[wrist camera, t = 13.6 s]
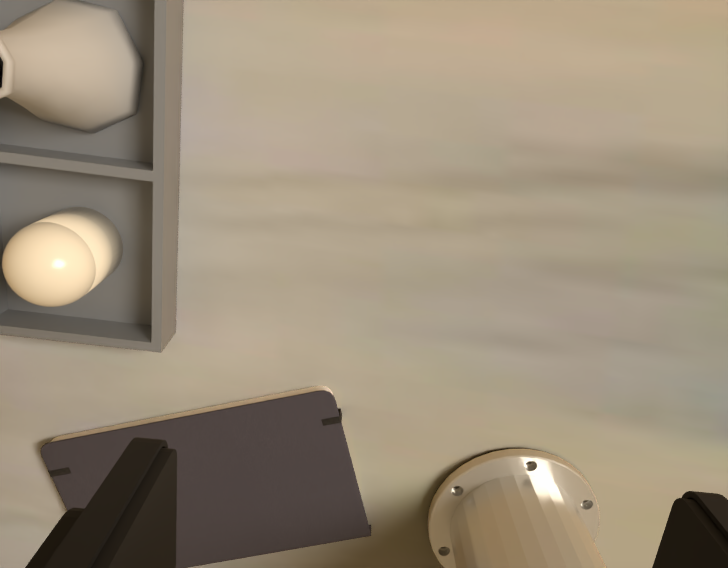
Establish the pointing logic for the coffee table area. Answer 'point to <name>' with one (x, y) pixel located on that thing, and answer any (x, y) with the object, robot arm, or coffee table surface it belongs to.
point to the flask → (71, 65)
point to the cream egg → (62, 256)
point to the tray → (104, 191)
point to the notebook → (235, 474)
